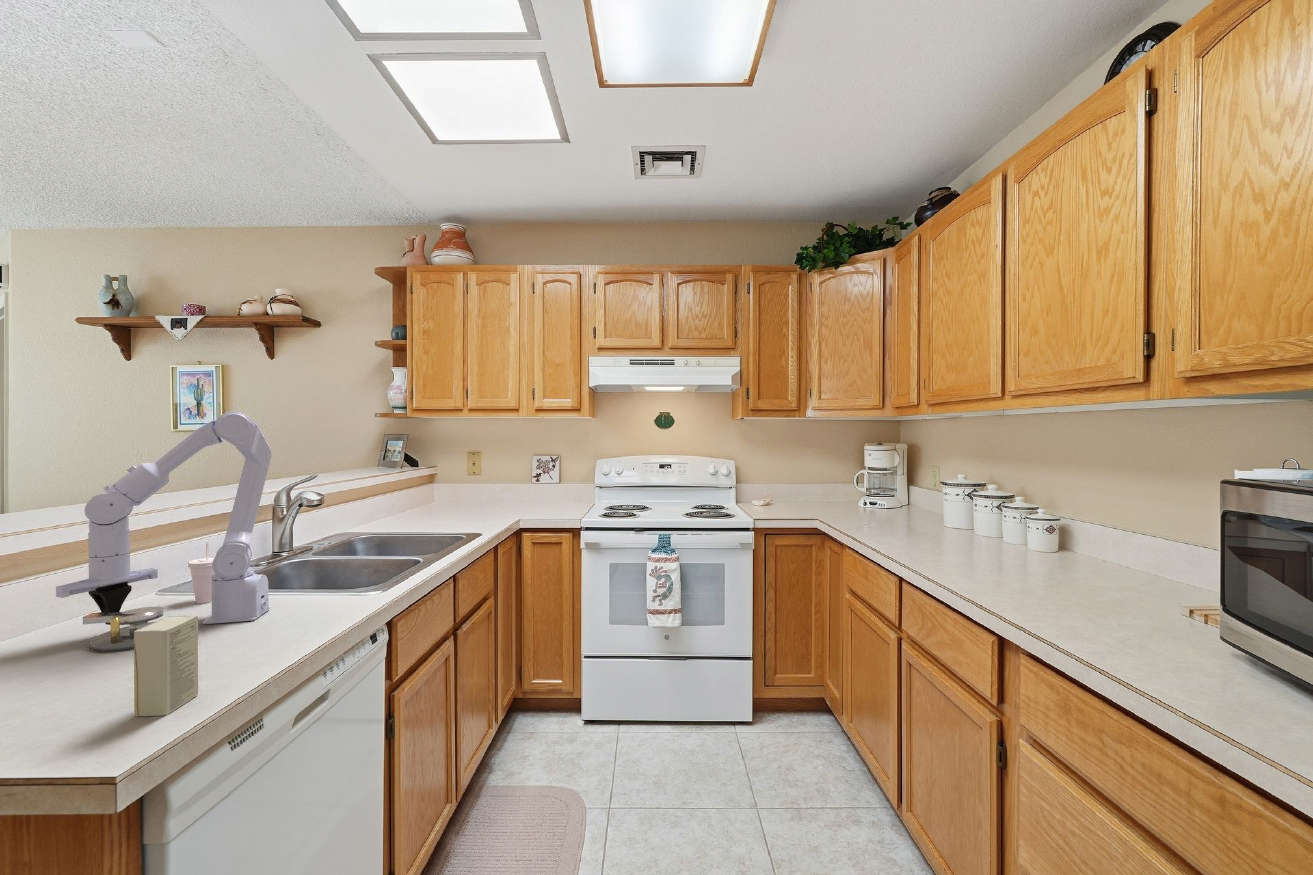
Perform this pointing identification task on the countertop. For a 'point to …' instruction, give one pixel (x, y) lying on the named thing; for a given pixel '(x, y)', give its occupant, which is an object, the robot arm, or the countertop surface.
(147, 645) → the skincare box
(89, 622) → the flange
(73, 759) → the countertop surface
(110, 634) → the base
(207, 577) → the smoothie
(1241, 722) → the countertop surface
